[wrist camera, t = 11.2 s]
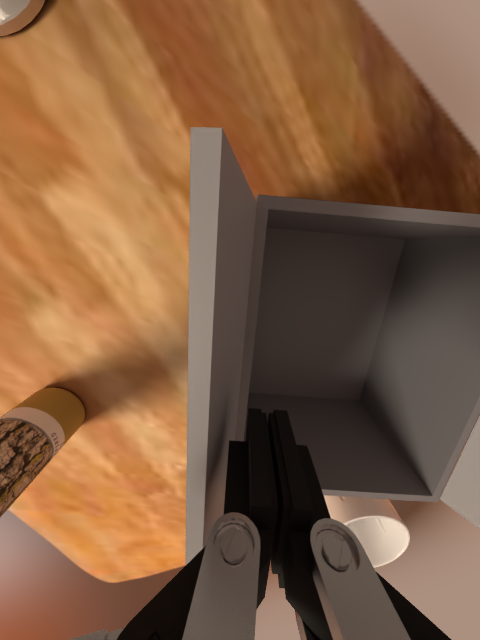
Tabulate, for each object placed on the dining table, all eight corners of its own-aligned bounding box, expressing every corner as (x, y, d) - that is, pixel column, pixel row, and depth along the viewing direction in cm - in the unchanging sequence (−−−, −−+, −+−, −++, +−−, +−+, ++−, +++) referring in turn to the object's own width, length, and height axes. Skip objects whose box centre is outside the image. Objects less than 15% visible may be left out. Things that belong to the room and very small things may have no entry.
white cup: (303, 478, 33) (328, 571, 24) (300, 435, 31) (326, 520, 21) (359, 473, 33) (406, 565, 24) (360, 429, 31) (413, 512, 21)
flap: (230, 486, 17) (222, 484, 17) (257, 203, 11) (245, 202, 11) (197, 654, 10) (184, 650, 10) (222, 127, 4) (190, 127, 4)
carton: (249, 219, 23) (257, 194, 11) (408, 233, 23) (573, 222, 12) (234, 392, 29) (230, 489, 17) (360, 401, 29) (437, 502, 18)
